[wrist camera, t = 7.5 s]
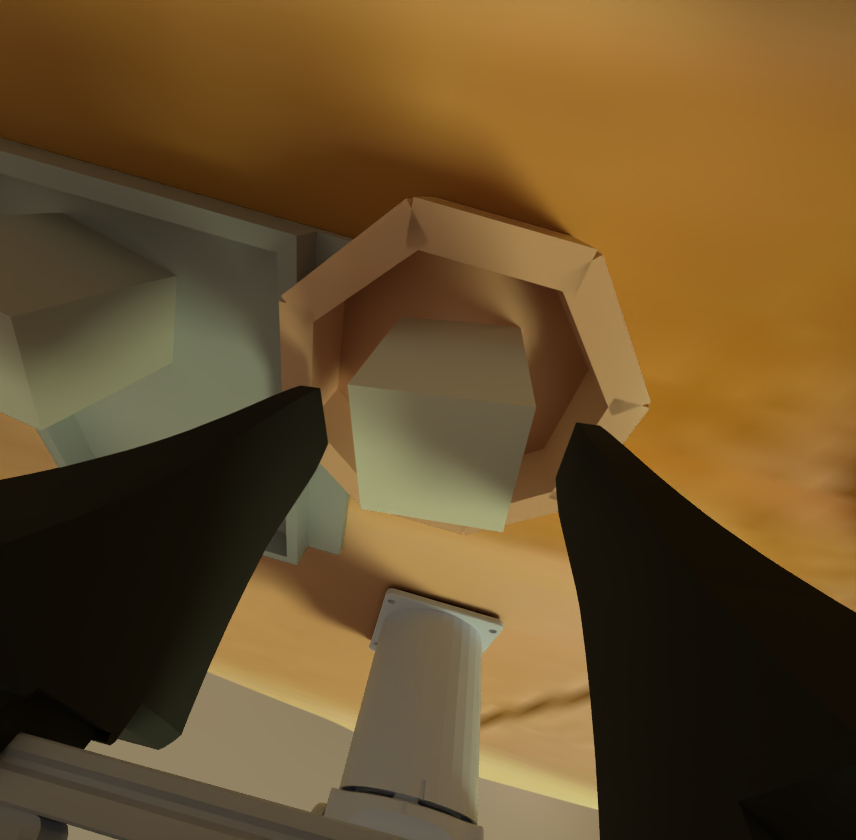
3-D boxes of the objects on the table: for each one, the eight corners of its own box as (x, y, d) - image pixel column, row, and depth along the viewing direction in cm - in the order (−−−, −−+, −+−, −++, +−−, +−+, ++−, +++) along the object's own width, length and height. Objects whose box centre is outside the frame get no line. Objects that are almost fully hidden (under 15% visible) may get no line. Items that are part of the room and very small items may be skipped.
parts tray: (342, 548, 21) (330, 575, 19) (77, 470, 21) (45, 491, 19) (382, 247, 11) (365, 255, 9) (-124, 101, 11) (-221, 87, 9)
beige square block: (172, 362, 14) (41, 430, 10) (76, 314, 14) (-104, 364, 9) (176, 275, 12) (10, 316, 8) (62, 212, 11) (-183, 221, 7)
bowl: (531, 500, 16) (537, 557, 13) (317, 438, 16) (284, 482, 13) (676, 266, 10) (738, 290, 7) (329, 166, 10) (274, 157, 7)
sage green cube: (500, 427, 13) (502, 532, 9) (401, 414, 14) (360, 508, 9) (520, 327, 11) (536, 407, 7) (400, 316, 11) (347, 384, 7)
